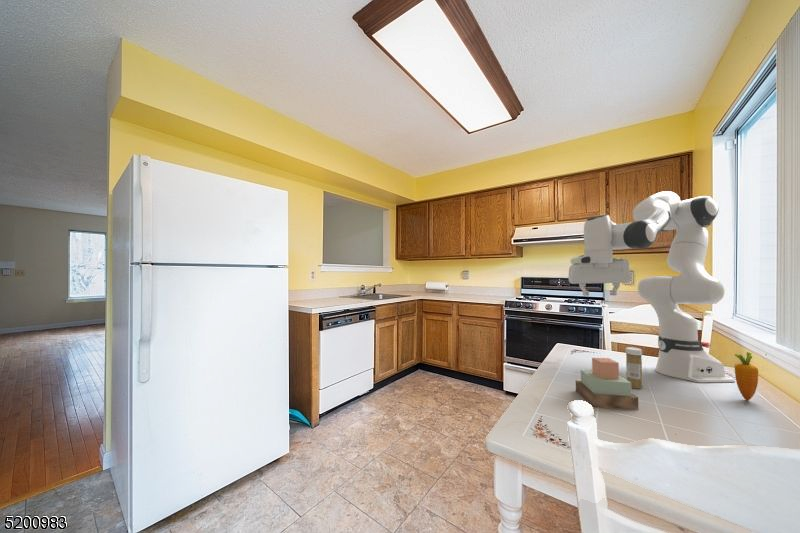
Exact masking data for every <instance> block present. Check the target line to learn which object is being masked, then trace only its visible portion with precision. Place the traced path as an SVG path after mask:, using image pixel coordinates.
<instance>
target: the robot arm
mask: <svg viewBox="0 0 800 533" xmlns="http://www.w3.org/2000/svg"><path fill="white" fill-rule="evenodd" d="M718 213H719V204H718V202H717V201H716V200H715V199H714V198H713V197H711V196H709V195H708V196H707V195H703V196H702V195H701V196H697V197H693V198H689V199H685V200H681V198H680V196H679V195H678V194H677V193H675V192H673V191H667V190H666V191H660V192H657V193H655V194H653V195H650V196H648V197H647V198H644V199H643V200H642V201H640V202H639V203H638V204H637V205H636V206H635V207H634V208H633V211H632V217H633V220H634V221H631V222H630V221H629V222H625V223H615V222H613V221H612V220H611V218H610V215H608V214H601V215H596V216H591V217H588V218H587V219H585V221H584V224H583V242H584V250H583V253H584V254H582V255H579V256H576V257H573V258H570V264H571V265H570V266H569V270H568V282H569V283H570V284H573V285H574V284H577V285H578V286H579V288H580V290H581V291H582V296H585V297H589V296H590V291H589V290H587V289H586V287H587V285H586V284H612V286H613V287H612V289H611V290H609V296H618V295H617V294H618V293H617V291H618V290H619V288H620V287H621V284H628V283H630V282H631V280H632V276H631V273H630V272H631V271H630V262H629V260H628V259H626V258H625V257H620V258H619V257H618V258H617V257H614V255H613V251H615V250H620V251H621V250H629V249H630V250H632V249H638V250H639V249H640V250H641V249H642V250H643V249H644V250H645V249H648V248H649V247H651V246H652V245H653V244H654V243H655V241H656V240H657V237H658V235H660V233H661V232H669V231H673V230H675V232H676V234H675V236H674V237H673V240H672V242H671V245H670V248H669V252H668V255H667V258H666V264H667V266H668V268H670V269H671V270H673V271H675V272H676V273H679V275H655V276H647V277H644V278H642V279H640V281H639V283H637V292H638V295H639V296H640V297H641V298H642V299H643V300H645V301H646V302H648V303H649V304H650V305H651V307H652V308H653V310H654V311H655V313H656V315H657V316H656V317H657V319H658V327H659V335H658V338H657V345H658V350H659V351H658V357H657V358H658V359H657V362H656V366H655V368H654V371H656V372H658V373H659V374H662V375H665V376H669V377H672V378H677V379H683V380H688V381H691V382H695V383H735V382H736V379H735V378H734V377H732V376H730V375H728V374H727V373H726V371H725V370H726V369H725V367H724V364H723V363H722V362H721V361H720V360H718V359H717V358H715V357H714V356H713V355H711V354H709V352H707V351H705V350H704V348H706V349H710V348H711V343H709V342H707V341H701V340H699V339H698V337H699V333H698V332H699V330H698V328H699V327H698V326H699V325H698V322H697V320H696V318H695V317H694V316H692V315H690V314H689V313H686V312H684V311H683V310H681V308H680V307H679V305H680V304H681V305H682V304H683V305H694V306H704V305H715V304H718V303H719V302H720V301H721V300H722V299H723V298H724V296H725V288H724V285H723V284H722V283H721V281H719V280H718V279H717V278H716V277H713V276H711V275H710V274H709V273H708V272H707V270H706V267H705V264H706V258H707V257H706V256H707V254H708V253H707V252H708V248H709V242H710V241H709V232H708V230H707V228H708V227H709V226H711V225H712V223H713V222H714V220H715V219H716V217H717V216H718Z"/></svg>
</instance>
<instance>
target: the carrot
mask: <svg viewBox="0 0 800 533" xmlns="http://www.w3.org/2000/svg"><path fill="white" fill-rule="evenodd" d="M734 356H735V357H736V358H738V359H739V360H740V361H741V362H738V363H735V365H734V374H735V382H736V385H737V387H738V388H737V389H738V390H739V392H740V394H741V395H742V396H741V397H742V398H743V399H744V400H745V401H749V400H751V399H752V398H753V397H754V395H755V394H756V393H757V392H756V391H757V389H758V383H759V369H758V368H757V366H755V365H753V364H750V363H751V359H752V358H753V355H752V353H751V352H749V351H747V352H746V358H745V357H744V356H743V355H742V354H741V353H739V354H737V353H735V354H734Z"/></svg>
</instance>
